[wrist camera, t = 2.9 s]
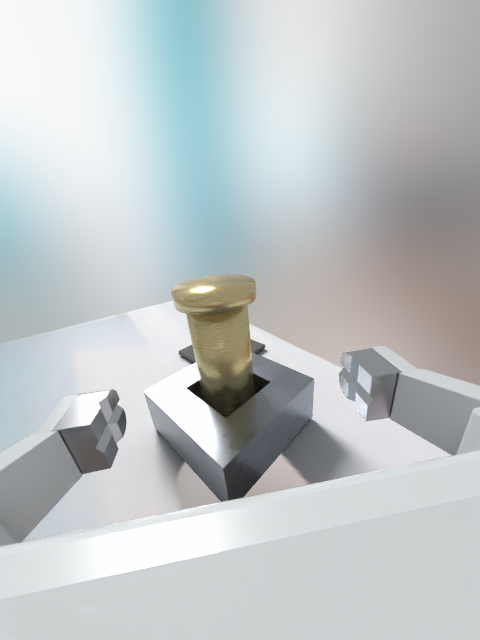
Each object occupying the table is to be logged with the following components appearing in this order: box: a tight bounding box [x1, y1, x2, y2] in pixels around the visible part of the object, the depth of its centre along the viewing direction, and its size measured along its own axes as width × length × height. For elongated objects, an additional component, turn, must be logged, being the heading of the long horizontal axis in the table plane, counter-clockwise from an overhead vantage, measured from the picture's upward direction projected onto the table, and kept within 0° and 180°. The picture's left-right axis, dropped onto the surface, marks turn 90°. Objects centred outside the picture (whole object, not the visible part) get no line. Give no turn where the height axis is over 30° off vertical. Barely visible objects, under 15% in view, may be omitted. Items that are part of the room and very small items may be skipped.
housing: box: [144, 352, 314, 502], centre depth 25 cm, size 12×12×5 cm
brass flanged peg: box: [172, 275, 256, 418], centre depth 22 cm, size 7×7×13 cm
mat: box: [179, 339, 265, 363], centre depth 39 cm, size 10×10×1 cm
